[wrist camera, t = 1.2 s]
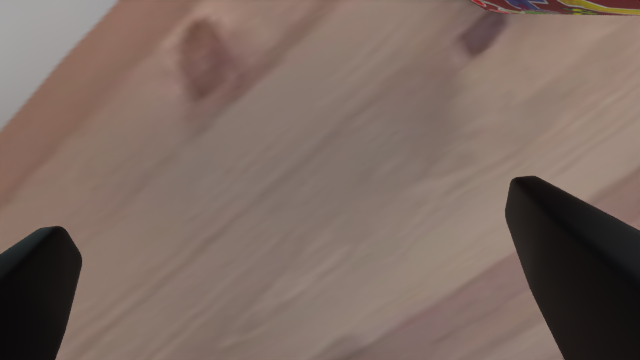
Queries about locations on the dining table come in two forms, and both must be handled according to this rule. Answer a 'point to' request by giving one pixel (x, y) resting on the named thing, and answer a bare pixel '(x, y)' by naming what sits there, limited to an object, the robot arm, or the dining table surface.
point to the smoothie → (562, 6)
